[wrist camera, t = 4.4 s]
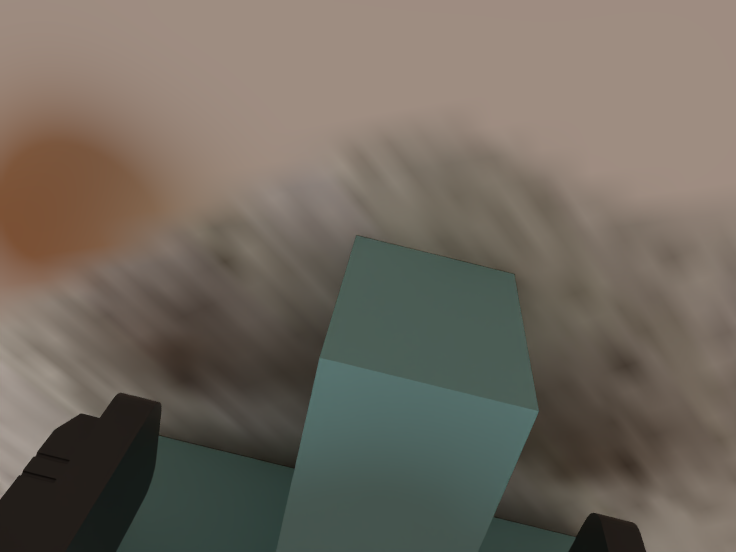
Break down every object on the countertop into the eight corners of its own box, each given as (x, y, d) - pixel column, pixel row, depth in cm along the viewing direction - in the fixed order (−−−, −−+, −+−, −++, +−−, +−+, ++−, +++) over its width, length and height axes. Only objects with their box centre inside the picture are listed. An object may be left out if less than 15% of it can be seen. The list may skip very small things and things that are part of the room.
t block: (171, 190, 13) (62, 294, 9) (697, 319, 13) (793, 473, 9) (143, 524, 17) (61, 685, 13) (537, 620, 17) (560, 805, 13)
